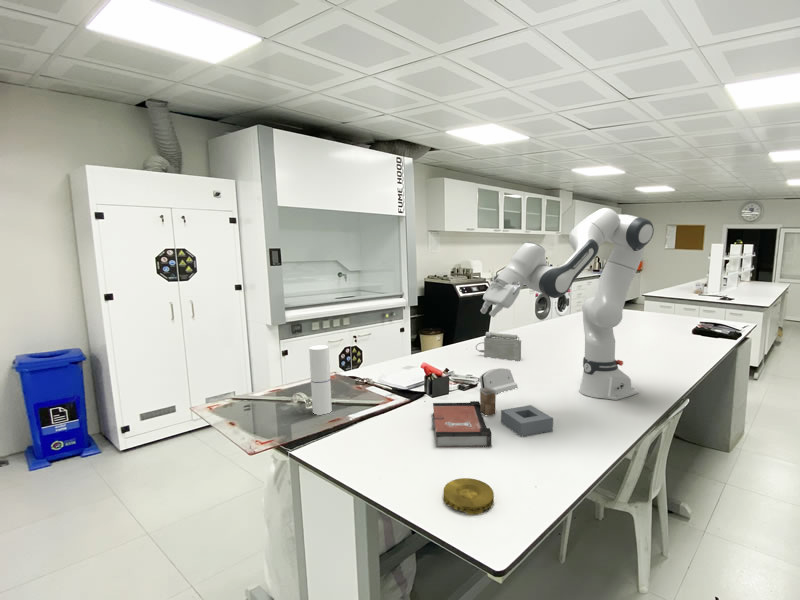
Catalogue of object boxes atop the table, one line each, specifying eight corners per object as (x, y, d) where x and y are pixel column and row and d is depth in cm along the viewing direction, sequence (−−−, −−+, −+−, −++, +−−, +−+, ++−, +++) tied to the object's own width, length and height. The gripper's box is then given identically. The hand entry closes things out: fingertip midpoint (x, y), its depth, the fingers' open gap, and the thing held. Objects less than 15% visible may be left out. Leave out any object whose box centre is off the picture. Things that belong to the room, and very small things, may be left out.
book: (431, 414, 155) (431, 401, 155) (479, 414, 154) (478, 401, 154) (434, 448, 129) (433, 433, 129) (491, 448, 128) (491, 432, 128)
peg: (489, 410, 157) (489, 386, 156) (495, 414, 153) (495, 390, 152) (480, 411, 156) (480, 388, 154) (485, 415, 152) (485, 391, 151)
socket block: (530, 417, 149) (530, 405, 149) (552, 430, 138) (552, 417, 138) (500, 422, 146) (501, 409, 145) (521, 436, 134) (521, 423, 134)
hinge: (489, 396, 172) (483, 371, 173) (482, 396, 175) (476, 372, 177) (518, 388, 180) (512, 364, 182) (510, 388, 184) (505, 366, 186)
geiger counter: (522, 333, 223) (477, 330, 236) (518, 336, 218) (473, 332, 231) (522, 359, 225) (477, 354, 238) (518, 362, 219) (473, 356, 233)
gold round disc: (476, 522, 94) (476, 513, 94) (433, 502, 102) (433, 493, 102) (502, 498, 103) (502, 489, 103) (461, 480, 111) (461, 473, 110)
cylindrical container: (315, 416, 155) (312, 350, 152) (310, 410, 161) (306, 346, 158) (334, 413, 158) (331, 347, 155) (328, 406, 164) (325, 344, 161)
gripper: (529, 289, 137) (504, 323, 137) (505, 286, 157) (484, 316, 157) (514, 277, 136) (489, 312, 136) (493, 276, 156) (471, 306, 156)
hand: (486, 314), depth 147 cm, fingers open, 8 cm apart
